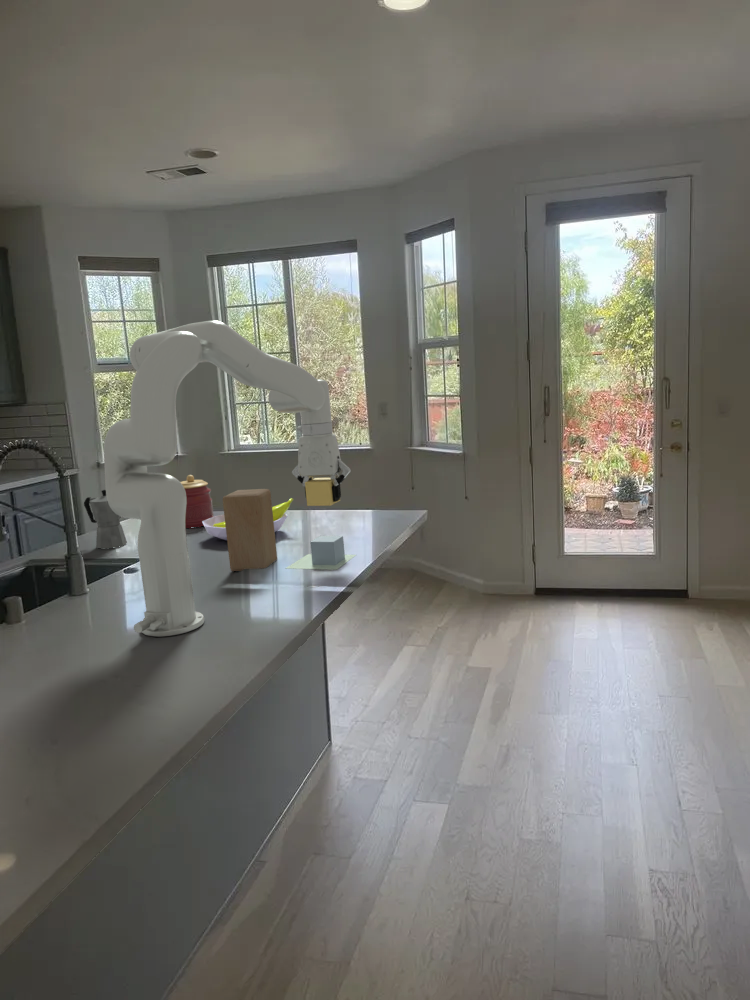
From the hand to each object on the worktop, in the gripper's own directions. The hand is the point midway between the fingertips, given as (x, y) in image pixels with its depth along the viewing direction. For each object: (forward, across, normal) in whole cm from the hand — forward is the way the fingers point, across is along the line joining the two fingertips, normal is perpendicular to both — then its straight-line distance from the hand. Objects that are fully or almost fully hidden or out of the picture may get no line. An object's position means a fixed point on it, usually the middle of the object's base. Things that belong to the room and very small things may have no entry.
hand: (323, 500), depth 186 cm
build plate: (+17, -2, 0) cm, 17 cm away
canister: (+17, -70, +47) cm, 86 cm away
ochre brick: (+1, 0, 0) cm, 1 cm away
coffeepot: (+17, -83, +17) cm, 86 cm away
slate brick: (+16, 0, 0) cm, 16 cm away
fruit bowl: (+17, -40, +31) cm, 53 cm away
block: (+17, -20, -3) cm, 27 cm away
